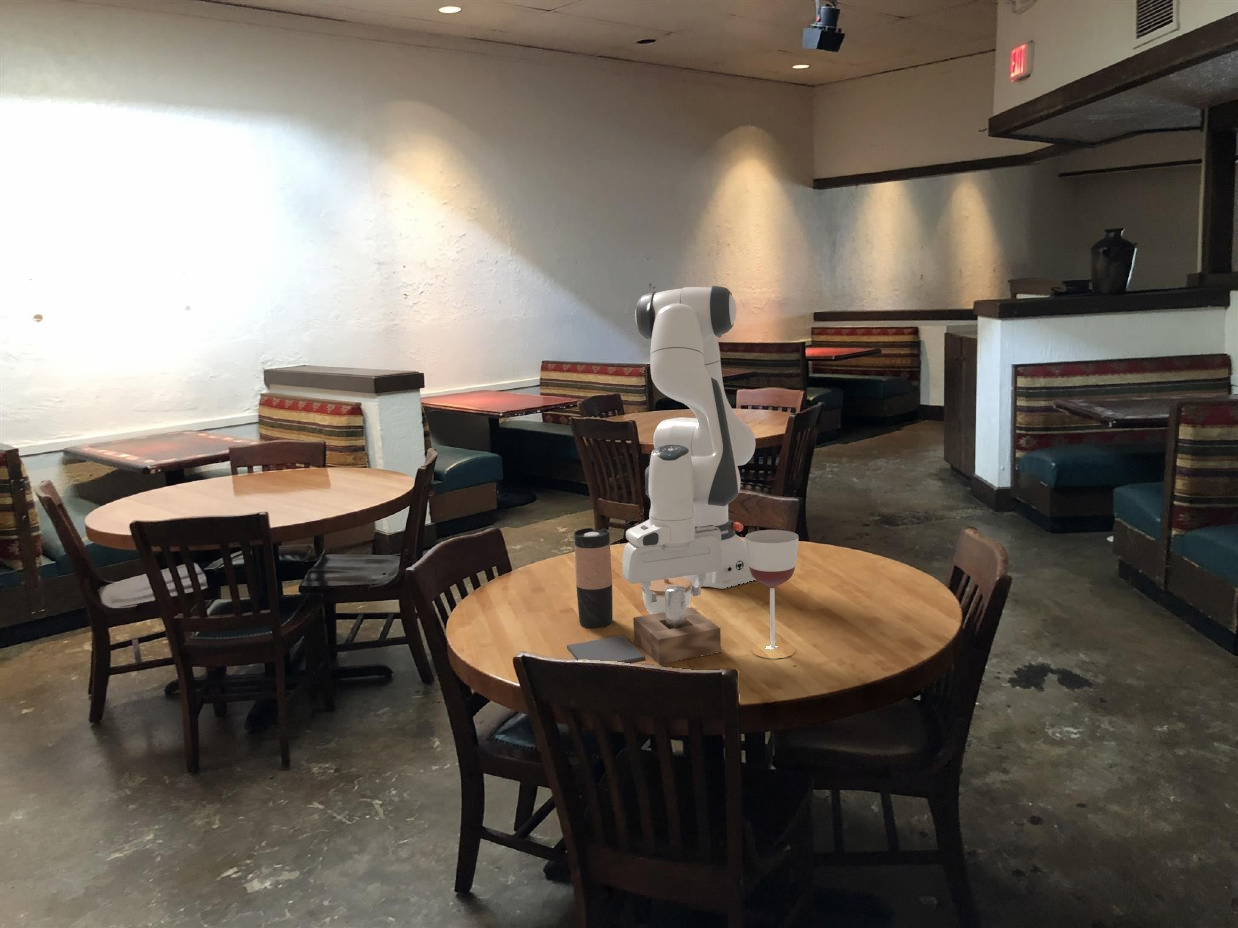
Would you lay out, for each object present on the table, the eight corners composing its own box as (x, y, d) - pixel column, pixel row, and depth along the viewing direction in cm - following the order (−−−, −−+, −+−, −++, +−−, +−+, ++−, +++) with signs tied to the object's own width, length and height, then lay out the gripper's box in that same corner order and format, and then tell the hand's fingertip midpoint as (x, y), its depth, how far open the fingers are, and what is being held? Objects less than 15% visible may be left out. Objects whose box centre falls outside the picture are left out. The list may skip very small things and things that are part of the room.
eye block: (692, 630, 194) (691, 607, 193) (720, 652, 182) (720, 628, 181) (634, 640, 189) (633, 617, 188) (659, 664, 177) (658, 639, 176)
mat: (622, 637, 191) (622, 635, 191) (645, 659, 180) (644, 656, 180) (566, 648, 187) (566, 645, 187) (586, 670, 176) (585, 667, 176)
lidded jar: (654, 605, 209) (653, 565, 207) (699, 611, 204) (698, 570, 203) (634, 622, 200) (633, 580, 198) (681, 628, 195) (680, 585, 193)
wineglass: (742, 643, 186) (740, 531, 181) (791, 639, 187) (791, 528, 182) (752, 661, 177) (751, 544, 172) (804, 657, 178) (804, 541, 173)
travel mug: (587, 631, 196) (583, 539, 192) (572, 620, 202) (567, 531, 198) (620, 623, 199) (616, 533, 195) (604, 613, 206) (599, 525, 202)
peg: (681, 641, 188) (680, 584, 186) (690, 648, 184) (688, 590, 182) (663, 644, 187) (661, 587, 184) (671, 651, 183) (669, 593, 181)
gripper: (713, 520, 187) (714, 586, 190) (618, 532, 180) (620, 600, 183) (728, 527, 181) (728, 595, 184) (629, 539, 174) (631, 610, 177)
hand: (673, 598), depth 183 cm, fingers open, 8 cm apart
